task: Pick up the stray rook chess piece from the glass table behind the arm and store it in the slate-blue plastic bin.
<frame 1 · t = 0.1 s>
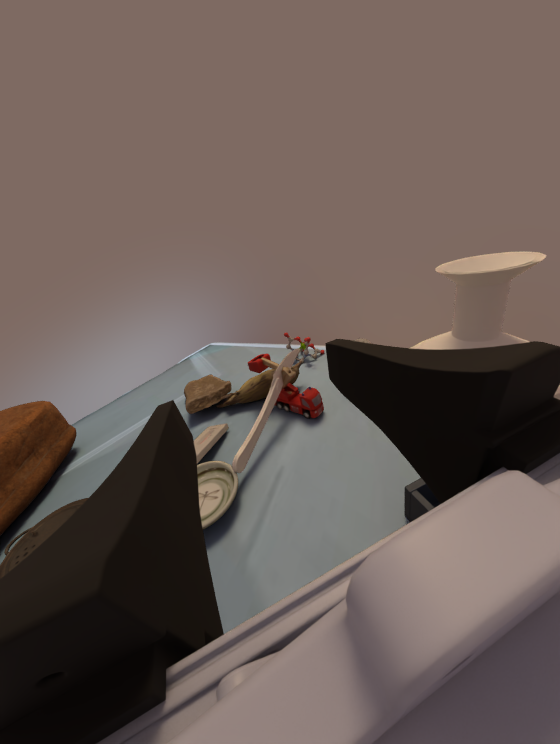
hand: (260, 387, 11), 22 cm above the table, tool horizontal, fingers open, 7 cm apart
molecular model: (291, 347, 66), point 2 cm above the table
alarm clock: (105, 556, 26), point 3 cm above the table
root vegetable: (254, 375, 50), point 5 cm above the table, touching decorative stone
knife: (276, 393, 39), point 6 cm above the table, touching saucer, toy fire truck
pregnancy test: (201, 451, 39), point 1 cm above the table, touching saucer
white vase: (466, 394, 39), on the table
toy fire truck: (291, 406, 46), on the table, touching knife
saucer: (207, 504, 32), on the table, touching knife, pregnancy test
bin: (507, 541, 22), on the table
decorative stone: (195, 375, 60), point 4 cm above the table, touching root vegetable
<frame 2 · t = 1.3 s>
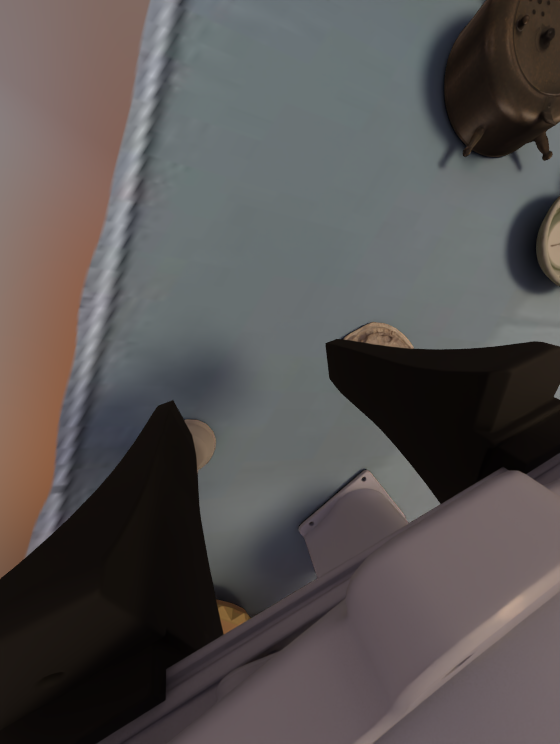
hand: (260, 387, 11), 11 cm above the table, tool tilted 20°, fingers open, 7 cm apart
toy 2: (270, 740, 26), point 2 cm above the table
alarm clock: (522, 151, 21), point 3 cm above the table
fossil: (380, 388, 23), point 2 cm above the table
rook chess piece: (191, 440, 23), on the table
saucer: (553, 246, 26), on the table, touching knife, pregnancy test
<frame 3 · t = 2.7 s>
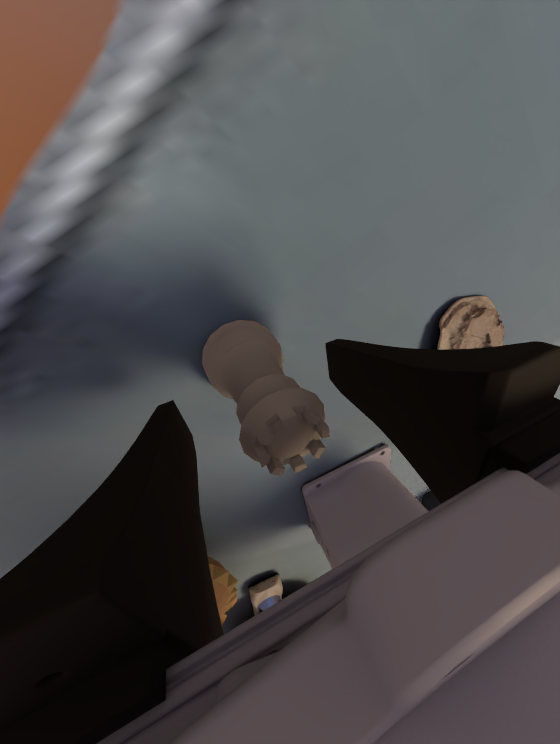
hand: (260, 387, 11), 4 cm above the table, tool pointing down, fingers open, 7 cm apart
toy car: (265, 596, 30), on the table, touching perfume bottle
toy 2: (187, 670, 25), point 2 cm above the table
fossil: (461, 371, 20), point 2 cm above the table
rook chess piece: (239, 353, 15), on the table
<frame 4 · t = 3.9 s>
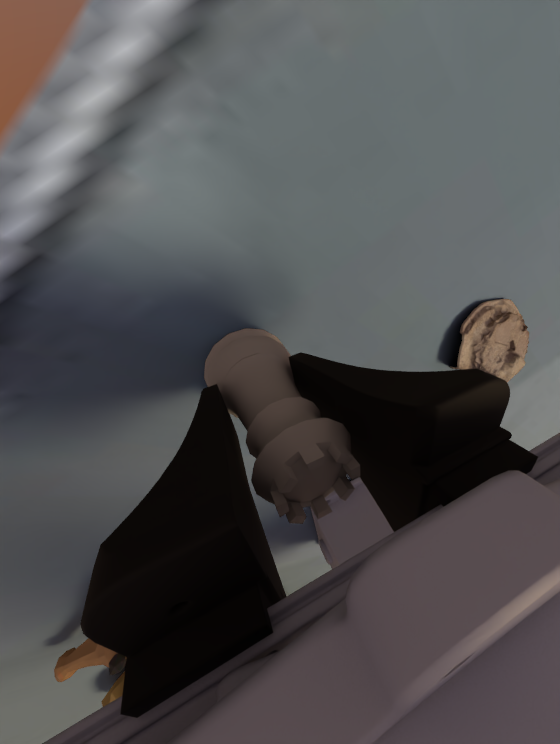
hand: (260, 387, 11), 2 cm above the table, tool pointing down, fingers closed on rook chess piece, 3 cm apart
toy 2: (187, 695, 24), point 2 cm above the table
fossil: (482, 381, 19), point 2 cm above the table
rook chess piece: (245, 364, 13), on the table, touching gripper
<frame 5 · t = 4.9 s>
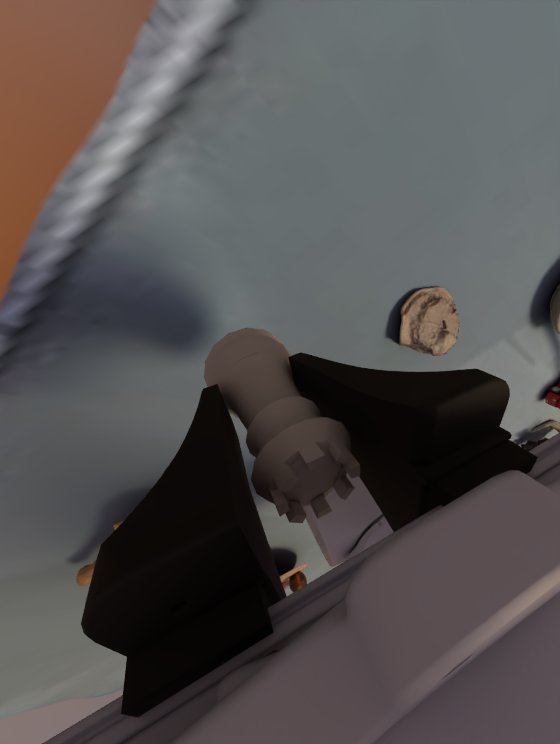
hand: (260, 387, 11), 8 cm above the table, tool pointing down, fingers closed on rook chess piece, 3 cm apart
toy 2: (183, 624, 28), point 2 cm above the table
fossil: (422, 353, 23), point 2 cm above the table
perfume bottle: (265, 586, 33), point 2 cm above the table, touching toy car
rook chess piece: (245, 364, 13), point 5 cm above the table, touching gripper
toy: (533, 434, 50), on the table
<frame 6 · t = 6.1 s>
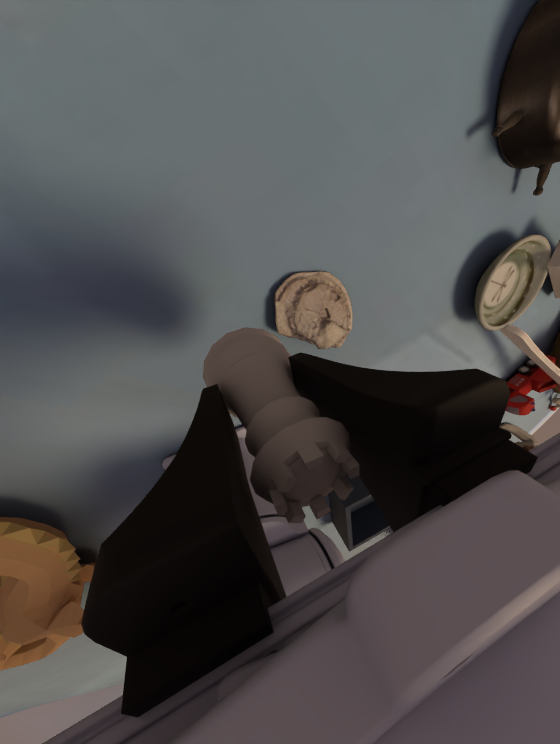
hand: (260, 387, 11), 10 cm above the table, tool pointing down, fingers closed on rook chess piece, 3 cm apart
toy 2: (62, 644, 25), point 2 cm above the table
alarm clock: (531, 169, 20), point 3 cm above the table
fossil: (305, 346, 20), point 2 cm above the table
rook chess piece: (244, 364, 13), point 7 cm above the table, touching gripper
pregnancy test: (557, 265, 29), point 1 cm above the table, touching saucer
toy: (487, 438, 47), on the table
toy fire truck: (519, 371, 40), on the table, touching knife
saucer: (490, 283, 28), on the table, touching knife, pregnancy test
bin: (362, 485, 38), on the table
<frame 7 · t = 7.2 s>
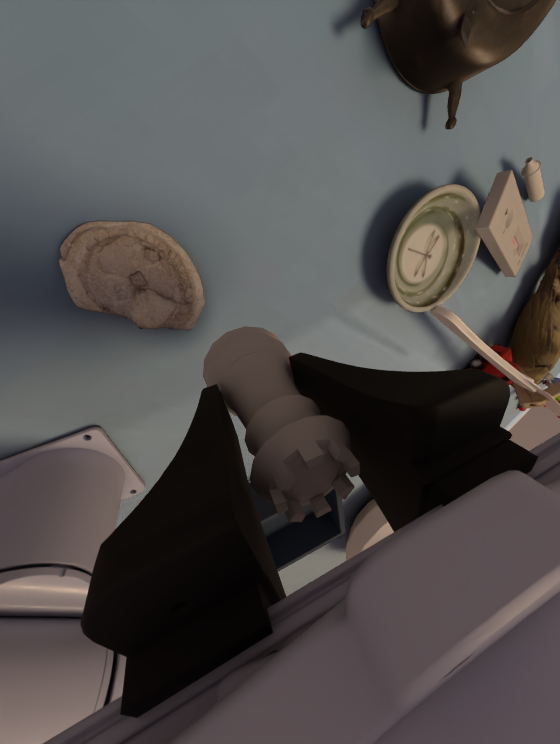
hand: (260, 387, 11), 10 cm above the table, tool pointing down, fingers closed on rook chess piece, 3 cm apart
alarm clock: (425, 80, 15), point 3 cm above the table
fossil: (120, 325, 15), point 2 cm above the table
rook chess piece: (244, 363, 13), point 7 cm above the table, touching gripper
knife: (511, 380, 27), point 6 cm above the table, touching saucer, toy fire truck
pregnancy test: (498, 233, 24), point 1 cm above the table, touching saucer
white vase: (383, 508, 44), on the table
toy fire truck: (473, 365, 34), on the table, touching knife
saucer: (413, 253, 23), on the table, touching knife, pregnancy test
bin: (285, 499, 32), on the table
when the fingers open (3 cm above the table, at t = 11.5 s): rook chess piece stays where it is, resting on bin.
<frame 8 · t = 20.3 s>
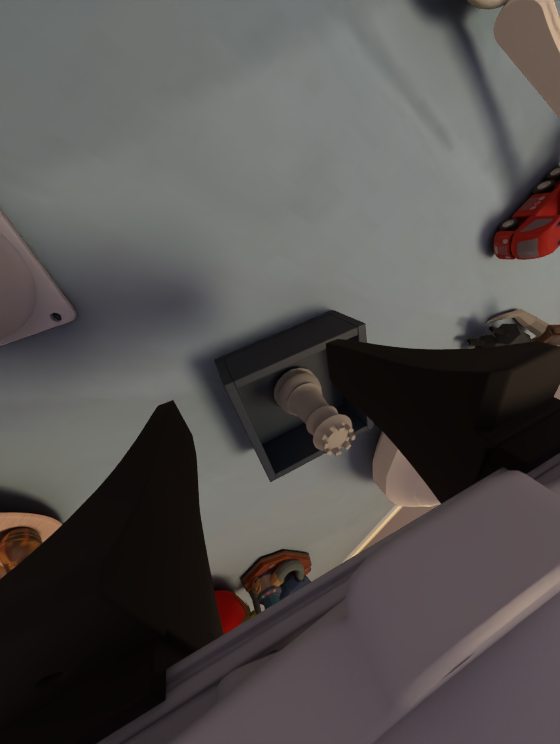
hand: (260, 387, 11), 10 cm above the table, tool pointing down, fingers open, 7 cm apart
tomato: (153, 712, 28), point 7 cm above the table
model: (277, 569, 40), on the table
rook chess piece: (292, 385, 24), resting on bin
toy: (492, 335, 33), on the table
white vase: (414, 424, 36), on the table
toy fire truck: (536, 198, 25), on the table, touching knife
bin: (291, 385, 24), on the table
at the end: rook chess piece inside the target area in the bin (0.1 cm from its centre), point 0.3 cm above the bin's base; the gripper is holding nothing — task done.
